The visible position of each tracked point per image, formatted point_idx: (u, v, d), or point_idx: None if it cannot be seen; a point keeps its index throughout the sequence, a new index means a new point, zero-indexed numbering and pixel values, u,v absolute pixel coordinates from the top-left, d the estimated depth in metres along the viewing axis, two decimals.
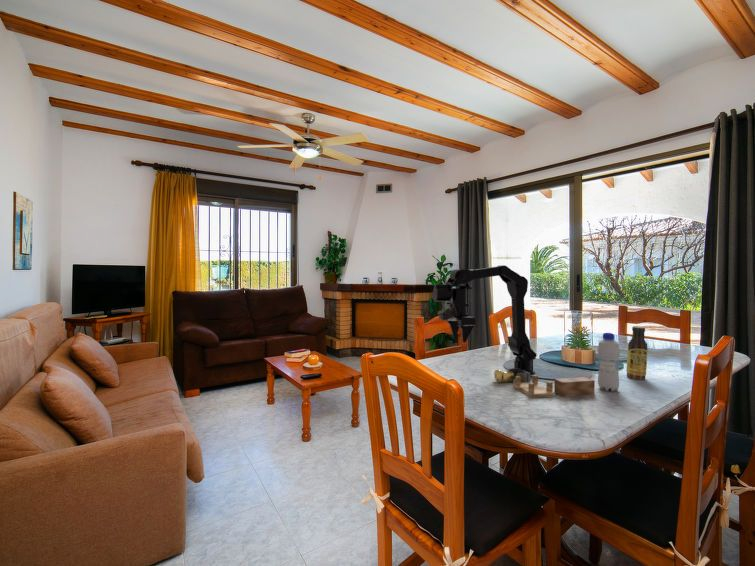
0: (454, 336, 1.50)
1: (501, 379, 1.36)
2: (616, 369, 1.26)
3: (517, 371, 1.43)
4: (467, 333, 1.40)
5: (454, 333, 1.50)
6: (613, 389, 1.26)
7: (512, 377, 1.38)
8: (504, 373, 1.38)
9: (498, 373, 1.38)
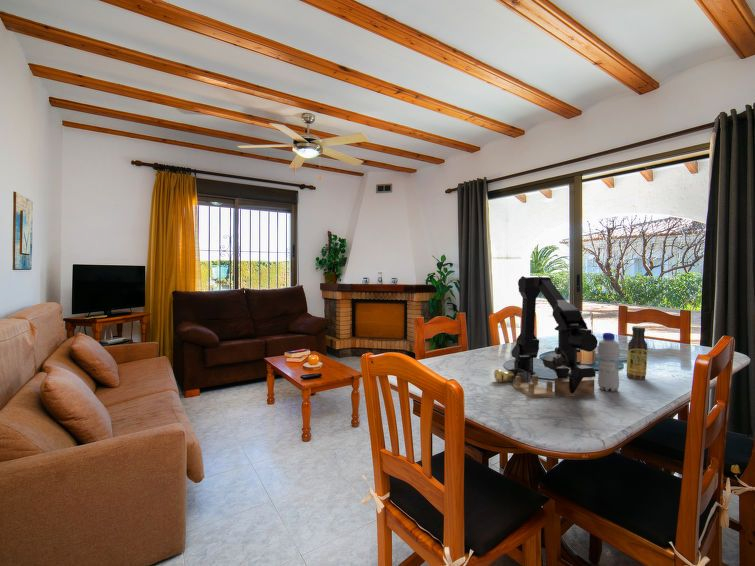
0: None
1: (501, 379, 1.36)
2: (616, 369, 1.26)
3: (517, 371, 1.43)
4: (576, 383, 1.21)
5: None
6: (613, 389, 1.26)
7: (512, 377, 1.38)
8: (504, 373, 1.38)
9: (498, 373, 1.38)
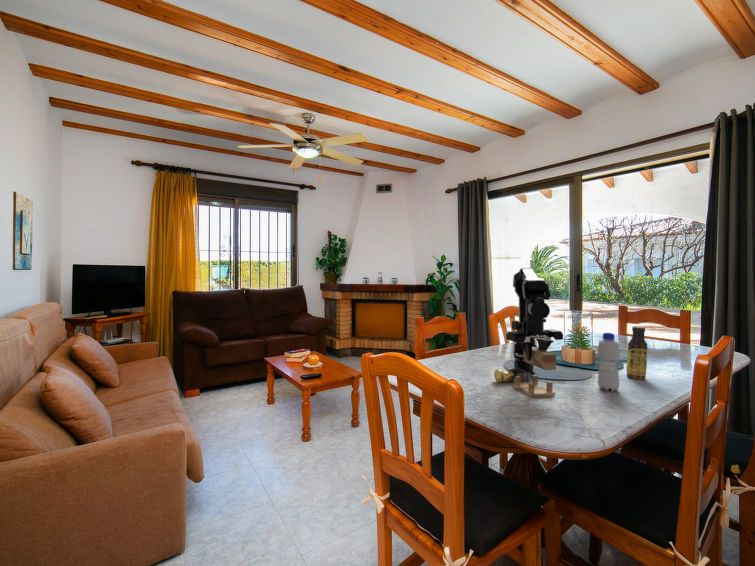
0: None
1: (501, 379, 1.36)
2: (616, 369, 1.26)
3: (517, 371, 1.43)
4: (527, 351, 1.26)
5: None
6: (613, 389, 1.26)
7: (512, 377, 1.38)
8: (504, 373, 1.38)
9: (498, 373, 1.38)
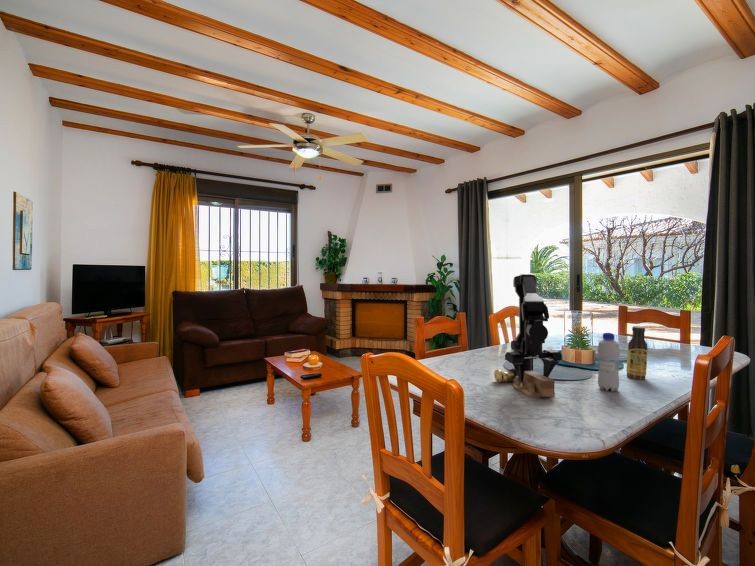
0: None
1: (501, 379, 1.36)
2: (616, 369, 1.26)
3: None
4: (519, 372, 1.26)
5: (544, 374, 1.29)
6: (613, 389, 1.26)
7: (512, 377, 1.38)
8: (504, 373, 1.38)
9: (498, 373, 1.38)
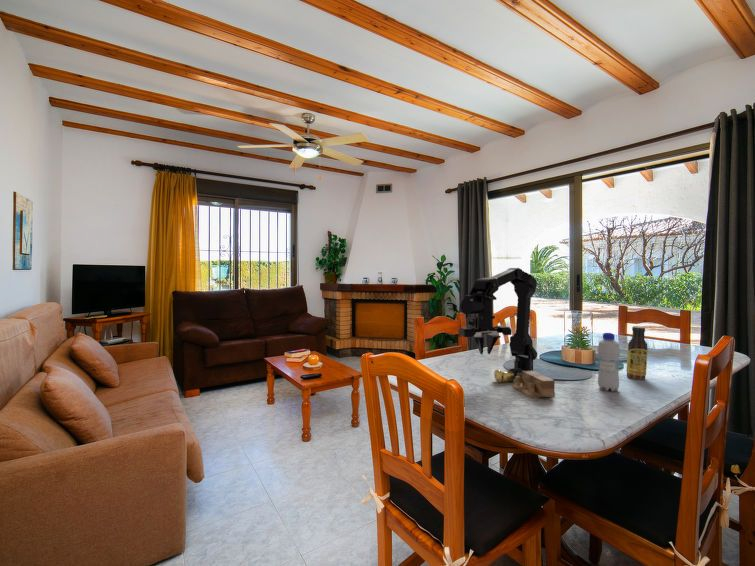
0: (488, 351, 1.38)
1: (501, 379, 1.36)
2: (616, 369, 1.26)
3: (517, 371, 1.43)
4: (479, 345, 1.36)
5: (488, 348, 1.38)
6: (613, 389, 1.26)
7: (512, 377, 1.38)
8: (504, 373, 1.38)
9: (498, 373, 1.38)
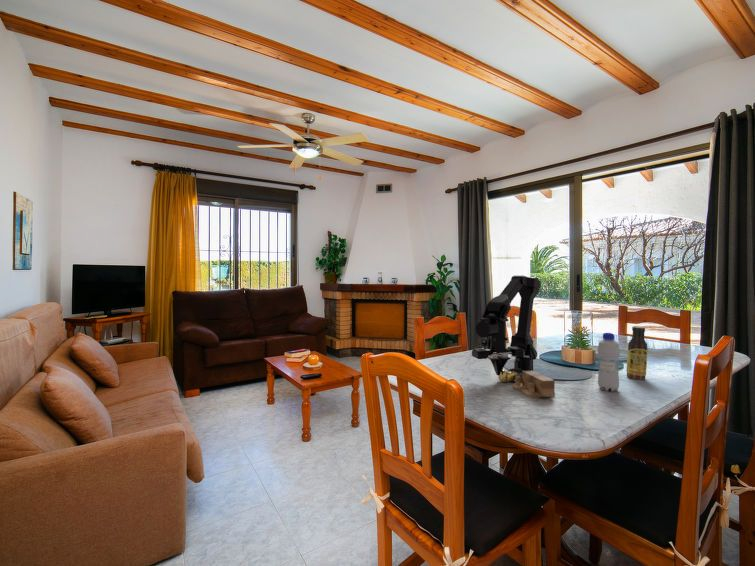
0: None
1: (505, 379, 1.37)
2: (616, 369, 1.26)
3: (517, 371, 1.43)
4: (495, 366, 1.37)
5: None
6: (613, 389, 1.26)
7: None
8: (508, 373, 1.38)
9: (502, 373, 1.38)
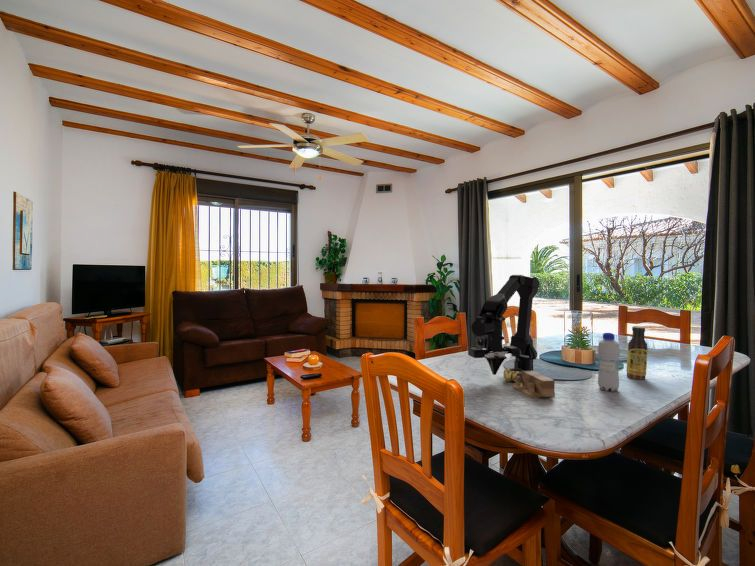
0: None
1: (510, 378, 1.37)
2: (616, 369, 1.26)
3: None
4: (491, 365, 1.37)
5: None
6: (613, 389, 1.26)
7: None
8: (513, 372, 1.39)
9: (507, 372, 1.38)
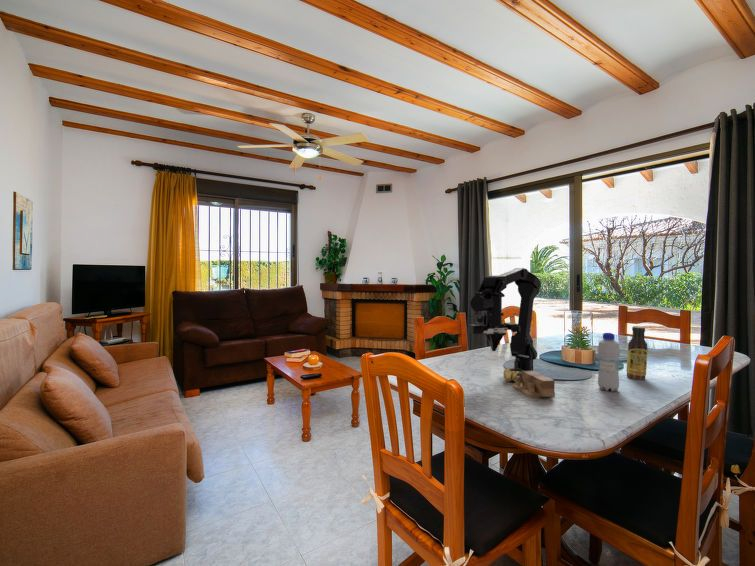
0: None
1: (510, 378, 1.37)
2: (616, 369, 1.26)
3: None
4: (491, 342, 1.37)
5: None
6: (613, 389, 1.26)
7: None
8: (513, 372, 1.39)
9: (507, 372, 1.38)
